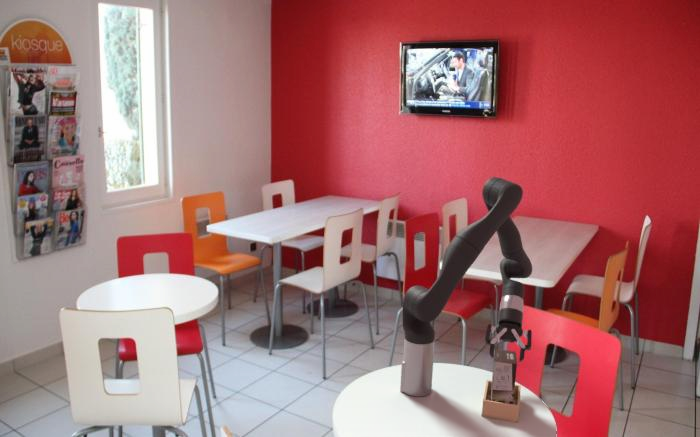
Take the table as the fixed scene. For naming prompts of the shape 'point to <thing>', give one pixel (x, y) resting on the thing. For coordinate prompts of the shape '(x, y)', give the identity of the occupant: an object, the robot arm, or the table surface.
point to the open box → (501, 405)
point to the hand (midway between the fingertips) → (506, 359)
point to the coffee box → (504, 376)
